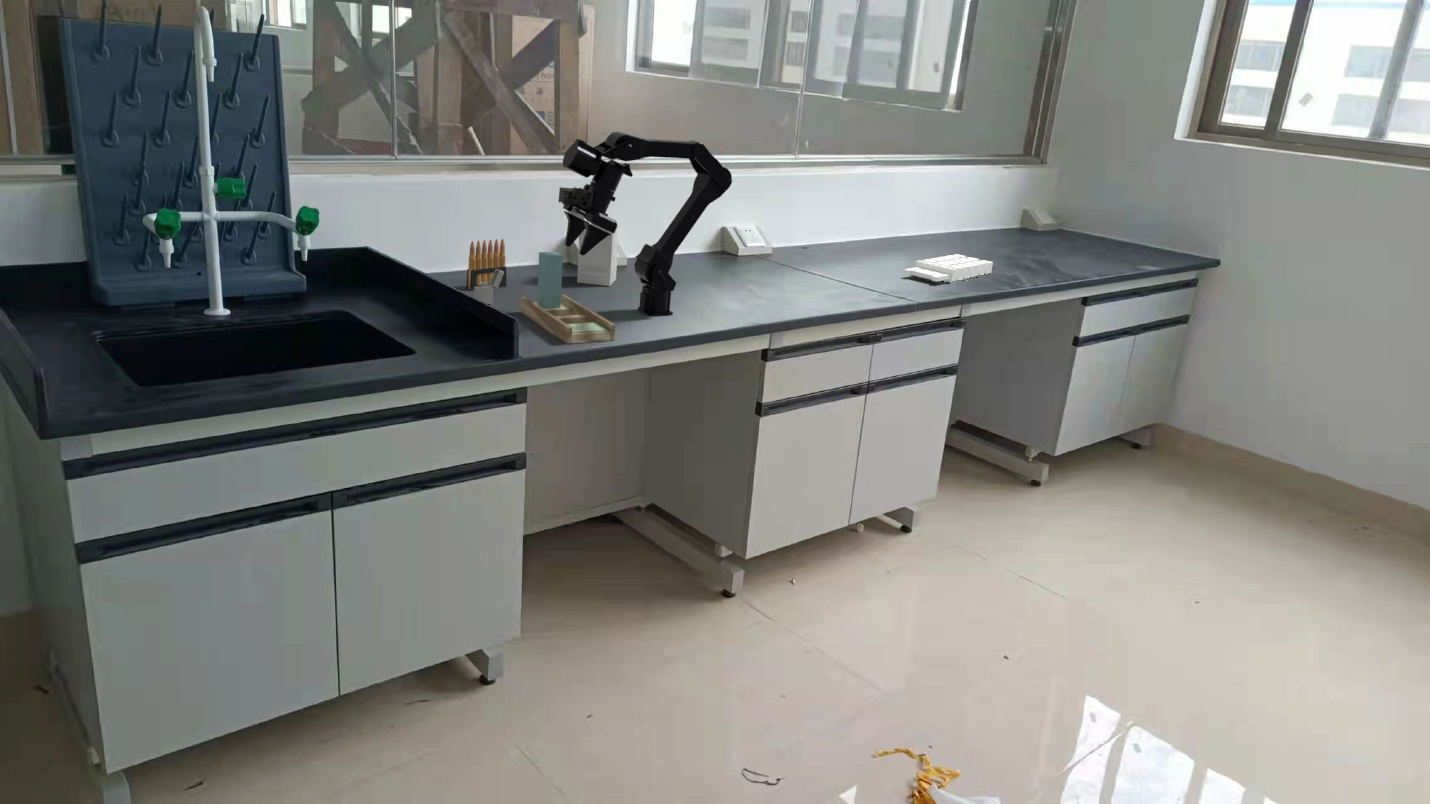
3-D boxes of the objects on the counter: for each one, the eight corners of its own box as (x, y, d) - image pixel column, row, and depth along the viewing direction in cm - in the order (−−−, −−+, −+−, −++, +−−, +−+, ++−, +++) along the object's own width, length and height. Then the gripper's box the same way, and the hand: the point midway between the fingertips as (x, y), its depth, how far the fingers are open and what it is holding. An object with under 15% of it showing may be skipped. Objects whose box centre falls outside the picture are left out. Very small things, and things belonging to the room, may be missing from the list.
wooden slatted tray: (564, 309, 234) (564, 294, 233) (614, 340, 214) (615, 324, 213) (519, 311, 228) (520, 296, 227) (567, 343, 208) (567, 327, 207)
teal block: (553, 303, 230) (555, 251, 227) (560, 307, 227) (562, 255, 223) (537, 304, 228) (539, 252, 224) (544, 308, 225) (546, 256, 221)
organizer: (993, 262, 325) (940, 272, 299) (990, 276, 326) (937, 288, 301) (957, 254, 332) (902, 263, 307) (954, 268, 334) (900, 278, 308)
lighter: (478, 306, 229) (478, 272, 226) (473, 304, 230) (474, 270, 228) (503, 303, 234) (504, 269, 232) (499, 301, 235) (499, 268, 233)
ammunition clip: (470, 291, 242) (471, 241, 238) (466, 289, 243) (466, 240, 239) (506, 286, 250) (508, 238, 246) (502, 284, 251) (503, 237, 247)
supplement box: (616, 279, 268) (620, 224, 264) (610, 286, 260) (613, 229, 255) (583, 275, 269) (586, 220, 264) (576, 282, 261) (578, 225, 256)
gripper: (557, 165, 226) (529, 228, 228) (587, 177, 210) (557, 245, 212) (599, 185, 232) (571, 246, 234) (631, 199, 217) (601, 264, 219)
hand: (574, 250), depth 224 cm, fingers open, 9 cm apart
